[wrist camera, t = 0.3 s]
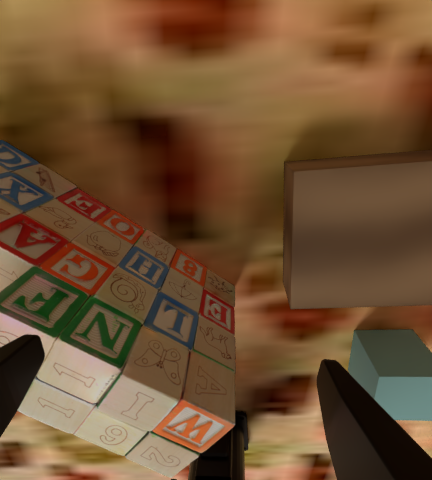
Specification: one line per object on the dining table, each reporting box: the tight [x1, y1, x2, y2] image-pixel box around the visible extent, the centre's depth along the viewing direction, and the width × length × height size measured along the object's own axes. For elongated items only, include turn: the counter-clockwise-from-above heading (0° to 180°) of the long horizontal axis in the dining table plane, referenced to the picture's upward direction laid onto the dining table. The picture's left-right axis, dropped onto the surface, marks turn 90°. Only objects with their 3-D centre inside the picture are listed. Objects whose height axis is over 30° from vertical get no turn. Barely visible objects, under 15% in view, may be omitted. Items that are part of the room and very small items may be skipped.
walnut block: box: [283, 150, 432, 309], centre depth 19 cm, size 10×10×4 cm
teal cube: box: [348, 329, 432, 421], centre depth 24 cm, size 5×5×5 cm
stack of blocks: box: [0, 140, 236, 478], centre depth 18 cm, size 21×6×12 cm, turn 55°
